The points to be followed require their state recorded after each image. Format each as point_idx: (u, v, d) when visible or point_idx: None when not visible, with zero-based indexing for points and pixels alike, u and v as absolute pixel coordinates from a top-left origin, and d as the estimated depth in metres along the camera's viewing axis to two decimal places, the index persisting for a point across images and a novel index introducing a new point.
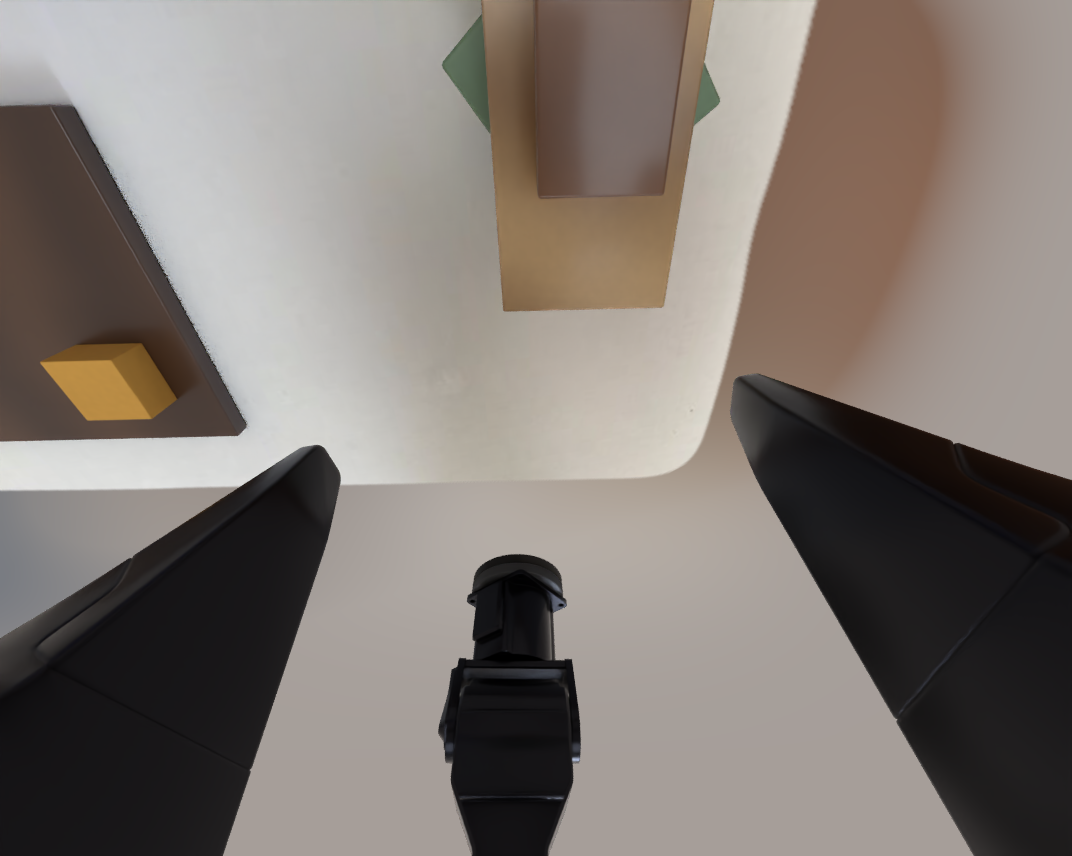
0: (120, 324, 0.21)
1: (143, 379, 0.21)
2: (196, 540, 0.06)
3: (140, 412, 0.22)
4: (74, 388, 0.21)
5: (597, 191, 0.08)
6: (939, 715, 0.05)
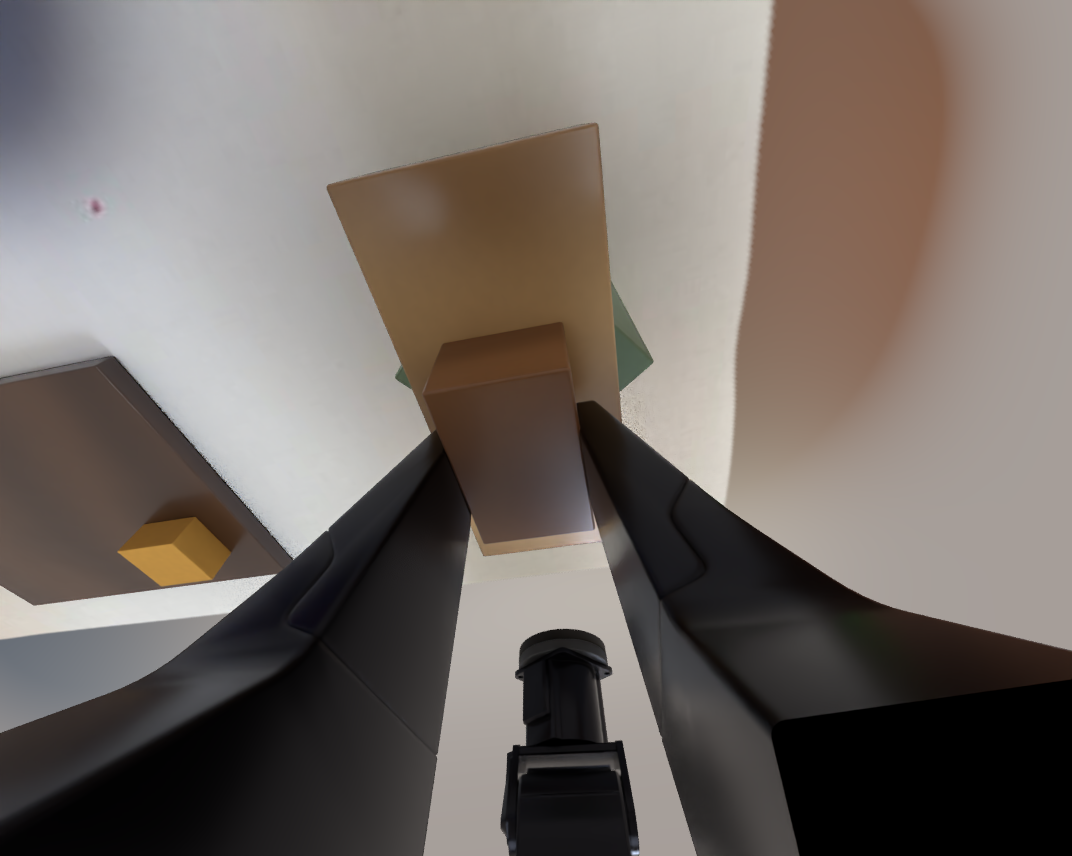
0: (176, 506, 0.24)
1: (200, 548, 0.24)
2: (392, 512, 0.06)
3: (202, 576, 0.25)
4: (147, 566, 0.24)
5: (534, 535, 0.09)
6: (668, 736, 0.05)
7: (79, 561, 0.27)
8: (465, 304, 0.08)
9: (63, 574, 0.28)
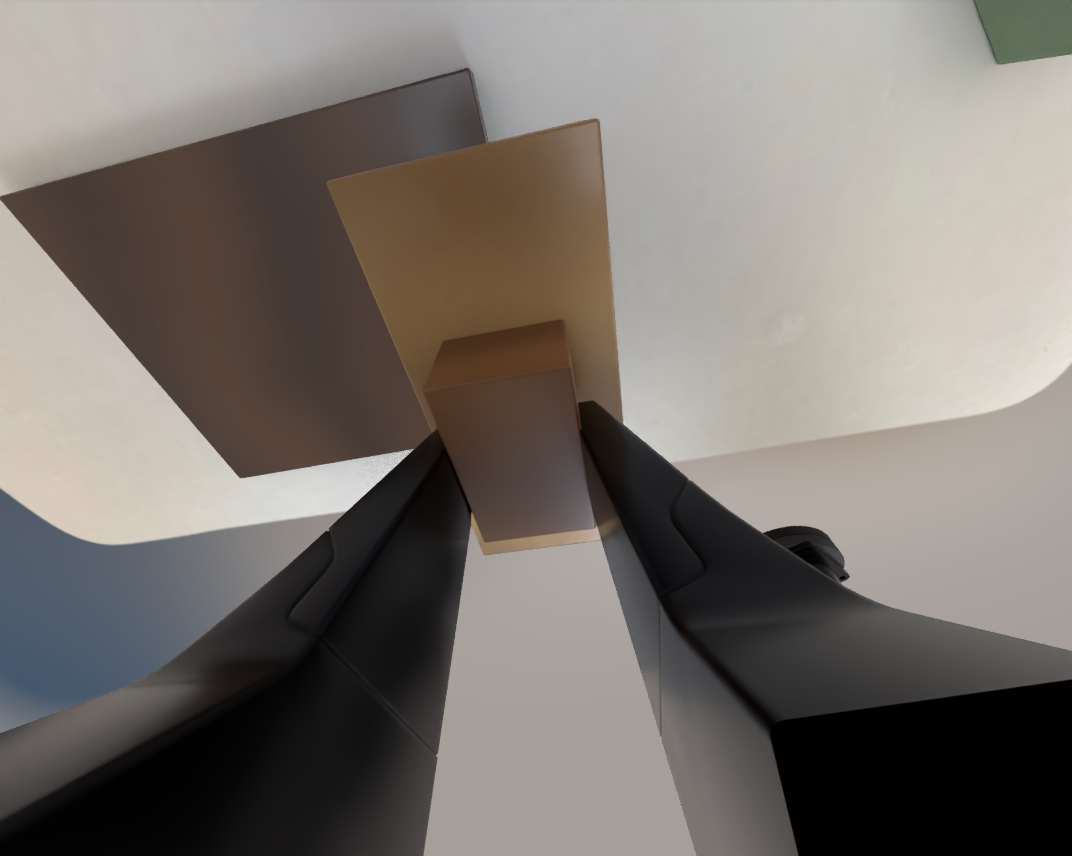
0: None
1: None
2: (392, 512, 0.06)
3: None
4: None
5: (535, 533, 0.09)
6: (668, 736, 0.05)
7: (318, 408, 0.23)
8: (466, 301, 0.08)
9: (292, 429, 0.24)
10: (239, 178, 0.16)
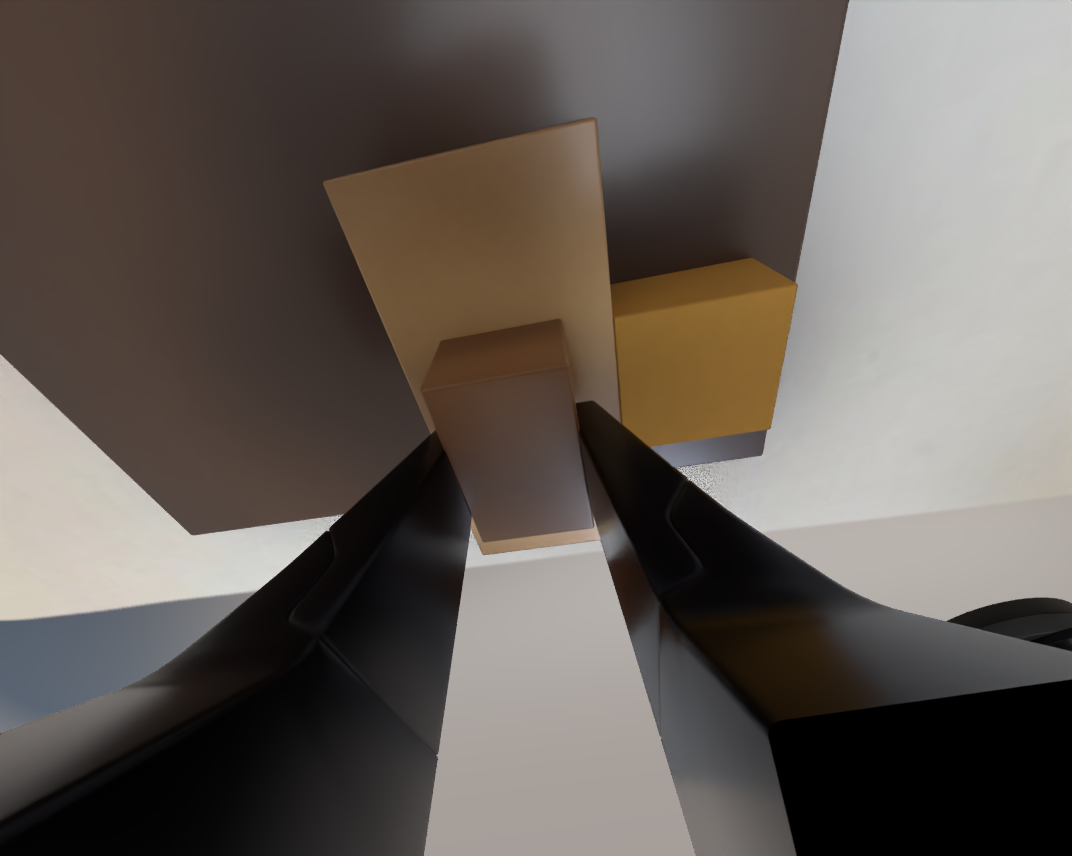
0: (682, 224, 0.09)
1: None
2: (393, 512, 0.06)
3: (759, 415, 0.10)
4: (651, 377, 0.09)
5: (533, 533, 0.09)
6: (667, 736, 0.05)
7: (335, 419, 0.12)
8: (463, 301, 0.08)
9: (284, 455, 0.13)
10: None
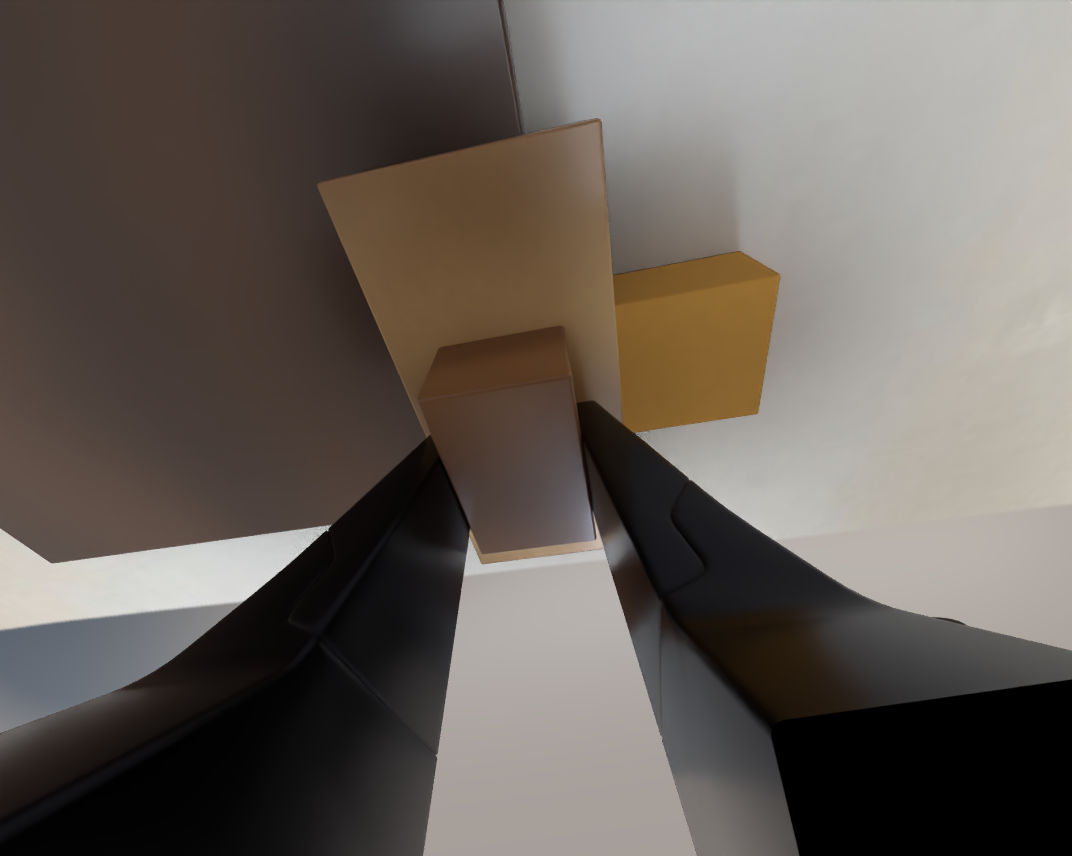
0: None
1: None
2: (392, 512, 0.06)
3: (746, 400, 0.10)
4: (644, 363, 0.09)
5: (533, 545, 0.09)
6: (668, 736, 0.05)
7: (154, 457, 0.12)
8: (462, 307, 0.08)
9: (116, 490, 0.13)
10: None
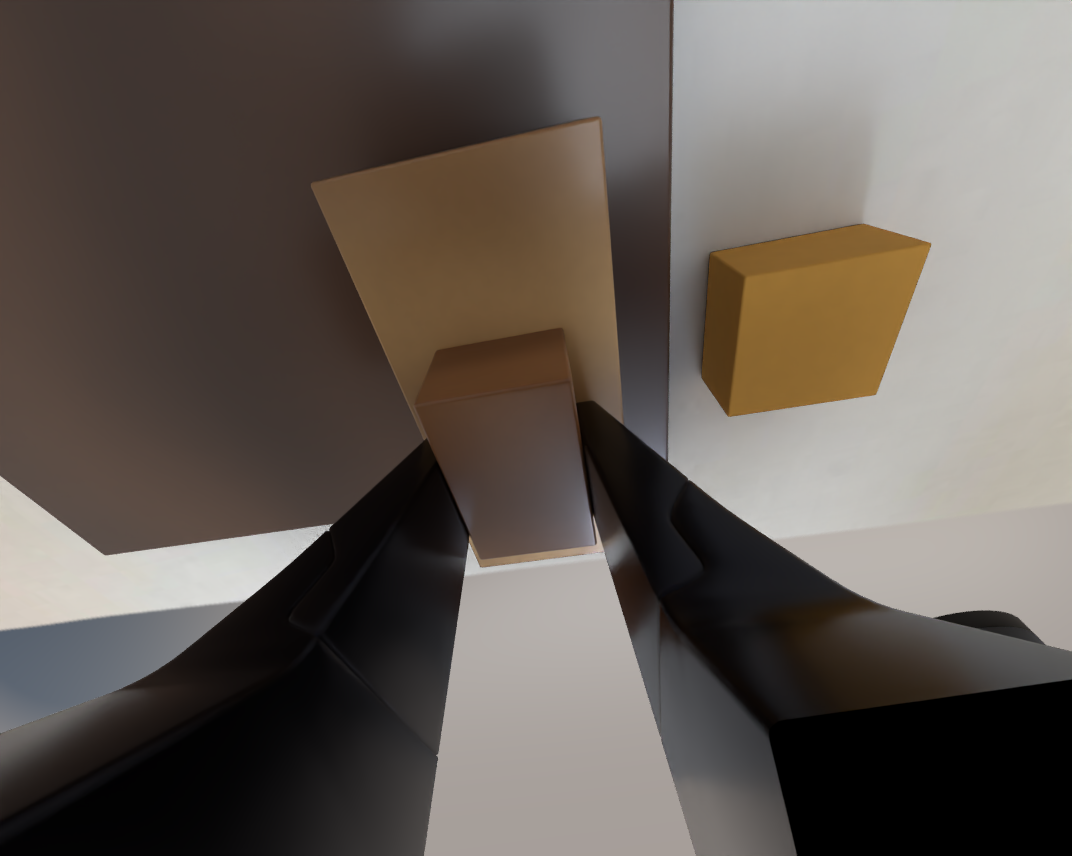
0: None
1: None
2: (393, 512, 0.06)
3: (867, 381, 0.10)
4: (770, 339, 0.09)
5: (533, 550, 0.08)
6: (667, 736, 0.05)
7: (228, 443, 0.12)
8: (460, 309, 0.07)
9: (183, 478, 0.13)
10: None
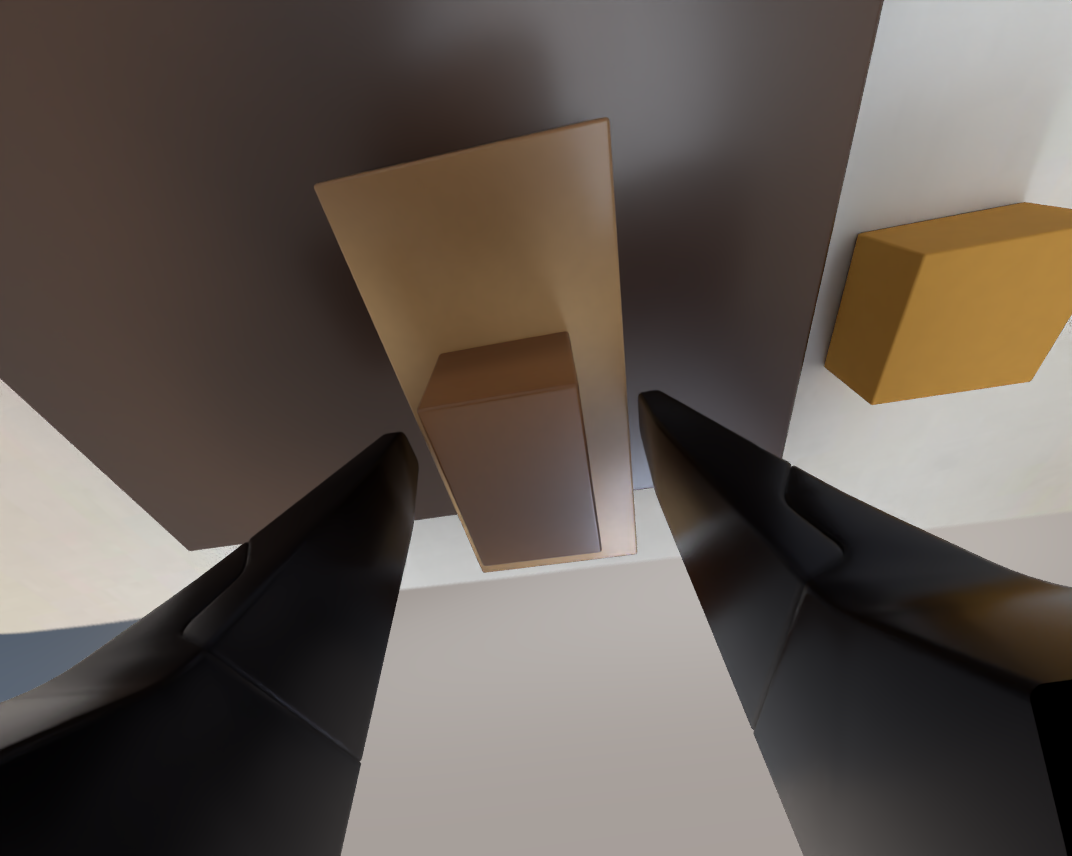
0: (701, 233, 0.08)
1: None
2: (312, 524, 0.06)
3: (1026, 366, 0.09)
4: (935, 322, 0.09)
5: (537, 557, 0.08)
6: (773, 728, 0.05)
7: (337, 434, 0.11)
8: (464, 312, 0.07)
9: (284, 471, 0.12)
10: None
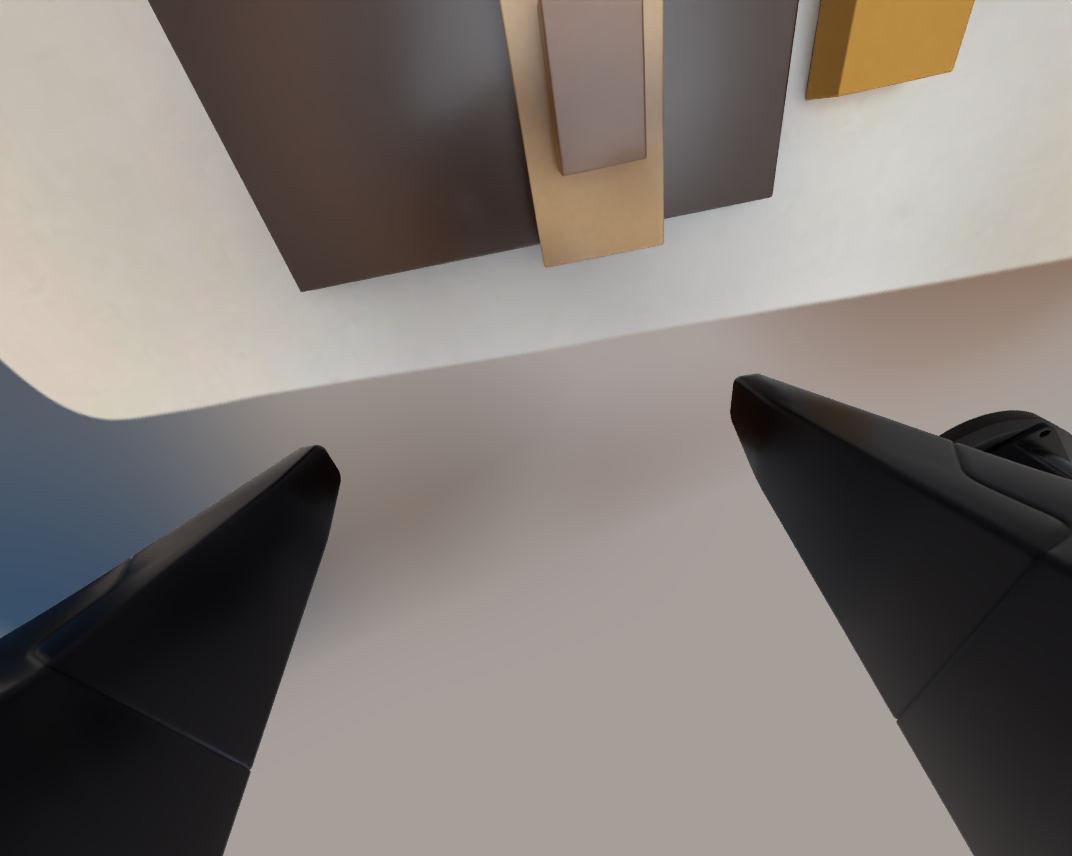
0: None
1: None
2: (196, 540, 0.06)
3: (947, 54, 0.13)
4: (879, 6, 0.12)
5: (601, 164, 0.12)
6: (939, 715, 0.05)
7: (435, 150, 0.15)
8: None
9: (390, 193, 0.16)
10: None
